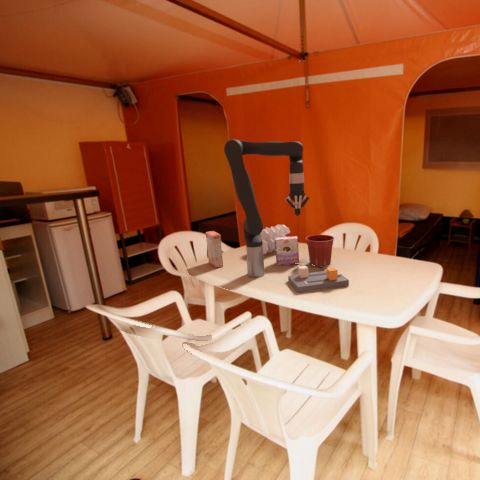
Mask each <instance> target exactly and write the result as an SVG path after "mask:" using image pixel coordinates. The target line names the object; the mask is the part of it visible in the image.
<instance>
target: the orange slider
mask: <svg viewBox="0 0 480 480" xmlns="http://www.w3.org/2000/svg"><path fill="white" fill-rule="evenodd" d="M325 268H326V267H325ZM325 271H326V273H327V279H329V280H330V281H331V280H338V272H339V271H338V269H337V268H335V267H329V268H328V267H327V268H326V270H325Z"/></svg>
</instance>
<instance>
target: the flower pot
mask: <svg viewBox="0 0 480 480" xmlns="http://www.w3.org/2000/svg"><path fill="white" fill-rule="evenodd" d="M305 240H306V245H307V251H308V257H309V259H308V260H309V264H310V263H311V264H313V265H315V266H314V267H316V266H318V267H321V266H322V267H323V268H324V267H328V266H330V265H331V262H332V252H333V245H334V241H335V236H333V235H328V234H312V235H307V236H306V237H305ZM311 264H310V265H311Z"/></svg>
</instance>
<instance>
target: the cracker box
mask: <svg viewBox="0 0 480 480" xmlns="http://www.w3.org/2000/svg"><path fill="white" fill-rule="evenodd" d="M221 236H222V235H221V234H220V233H218V232H217V231H215V230H211V231H206V232H205V238H206V248H207V258H208V263H209V264H210V265H211V266H212V267H213V268H214V267H215V268H214V269H217V267H218V268H221V267H222V266H223V267H224V260H223V247H222V237H221ZM223 267H222V268H223Z"/></svg>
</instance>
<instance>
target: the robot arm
mask: <svg viewBox="0 0 480 480" xmlns="http://www.w3.org/2000/svg"><path fill="white" fill-rule="evenodd" d="M223 151H224V154H225V157H226V158H227V162H228V165H229V167H230V171H231V177H232V181H233V185H234V190H235V193H236V196H237V197H236V198H237V199H238V201H239V203H240V205H241V208H242V210H243V211H244V215H245V219H244V221H243V226H242V227H243V236H244V241H245V245H246V248H245V249H246V269H247V270H246V271H247V275H248V277H250V278H258V277H259V278H260V277H262V276H263V277H264V275H265V274H266V273H265V264H264V263H265V262H264V260H265V259H264V254H263V242H262V239H261V236H260V233H261V232H262V230H263V229H264V223H263V221H262V217H261V215H260V212H259V209H258V205H257V200H256V196H255V191H254V188H253V183H252V179H251V178H250V175H249V173H248V171H247V169H246V167H245V162H244V157H243V156H245V155H246V156H247V155H248V156H249V155H256V156H258V155H259V156H265V157H267V156H268V157H282V156H286V157H289V169H288V170H289V177H288V179H289V181H288V182H289V183H288V184H289V186H288V187H289V193H288V196H287V197H285V198H284V201H286V203H287V204H288V205H289V207H291V208H292V209H294V215H295V216H297V217H299V216H300V215H301V208H304V207H305V205H306V204H307V202H308V201H309V200H310V197H309V196H308V195H306V193H305V175H304V162H303V156H304V154H303V152H304V145H303V143H301V142H300V141H247V140H241V139H240V140H239V139H238V138H237V139H236V138H233V139H229V140H227V141H226V143H225V144H224V146H223ZM291 201H292V202H291Z"/></svg>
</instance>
